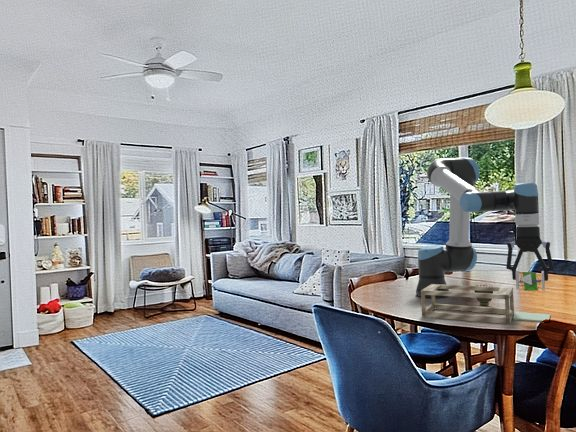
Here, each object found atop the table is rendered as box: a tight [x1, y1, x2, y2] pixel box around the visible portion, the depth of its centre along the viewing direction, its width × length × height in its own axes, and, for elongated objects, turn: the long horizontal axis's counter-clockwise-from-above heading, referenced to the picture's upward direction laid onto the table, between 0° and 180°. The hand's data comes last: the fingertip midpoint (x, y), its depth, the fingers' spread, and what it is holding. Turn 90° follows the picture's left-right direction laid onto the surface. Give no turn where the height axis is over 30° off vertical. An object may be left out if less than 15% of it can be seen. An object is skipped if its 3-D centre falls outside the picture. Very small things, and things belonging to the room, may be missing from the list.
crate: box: [420, 284, 515, 325], centre depth 164 cm, size 30×16×10 cm, turn 58°
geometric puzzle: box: [519, 271, 542, 292], centre depth 156 cm, size 7×7×8 cm
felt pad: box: [512, 311, 551, 323], centre depth 156 cm, size 11×11×1 cm
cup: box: [473, 284, 494, 307], centre depth 179 cm, size 8×7×8 cm
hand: (530, 289), depth 156 cm, fingers closed on geometric puzzle, 7 cm apart
